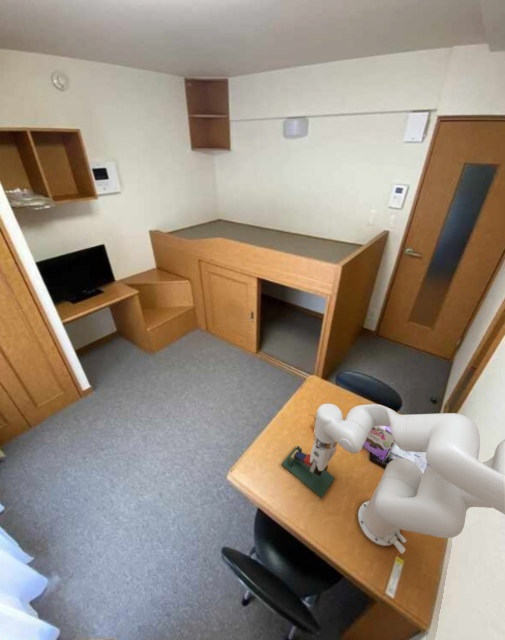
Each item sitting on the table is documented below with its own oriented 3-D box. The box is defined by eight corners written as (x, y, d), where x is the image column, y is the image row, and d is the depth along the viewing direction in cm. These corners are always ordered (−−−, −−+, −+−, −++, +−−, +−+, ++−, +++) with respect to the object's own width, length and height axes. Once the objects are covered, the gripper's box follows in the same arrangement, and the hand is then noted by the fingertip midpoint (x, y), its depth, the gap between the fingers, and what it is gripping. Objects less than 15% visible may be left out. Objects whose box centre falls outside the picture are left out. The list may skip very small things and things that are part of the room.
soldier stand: (334, 479, 103) (336, 471, 100) (321, 498, 98) (323, 490, 95) (295, 448, 113) (296, 440, 110) (281, 465, 108) (282, 456, 105)
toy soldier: (329, 466, 98) (327, 459, 97) (324, 475, 95) (321, 467, 95) (297, 453, 109) (295, 447, 108) (291, 461, 106) (289, 454, 105)
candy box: (352, 438, 117) (361, 413, 108) (359, 430, 121) (369, 405, 111) (383, 462, 109) (396, 437, 100) (390, 453, 112) (403, 428, 103)
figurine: (326, 428, 121) (331, 410, 115) (322, 439, 117) (326, 421, 110) (308, 419, 125) (312, 401, 118) (303, 430, 120) (307, 412, 114)
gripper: (322, 462, 82) (316, 494, 92) (348, 426, 92) (340, 459, 102) (301, 447, 87) (297, 479, 96) (328, 414, 97) (322, 446, 106)
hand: (319, 468), depth 99 cm, fingers closed on toy soldier, 3 cm apart
